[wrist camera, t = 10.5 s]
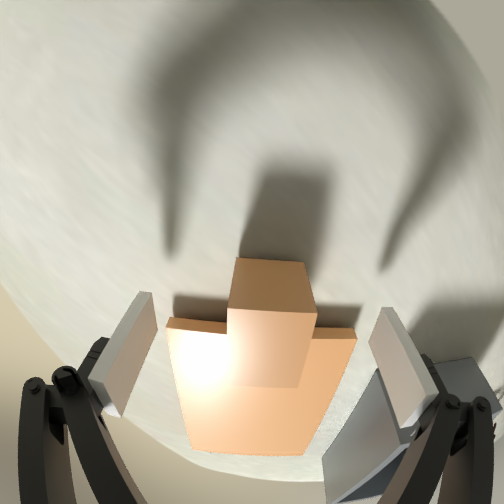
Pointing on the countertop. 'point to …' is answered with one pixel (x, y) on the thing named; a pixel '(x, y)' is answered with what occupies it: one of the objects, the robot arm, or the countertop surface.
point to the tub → (387, 434)
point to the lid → (258, 364)
